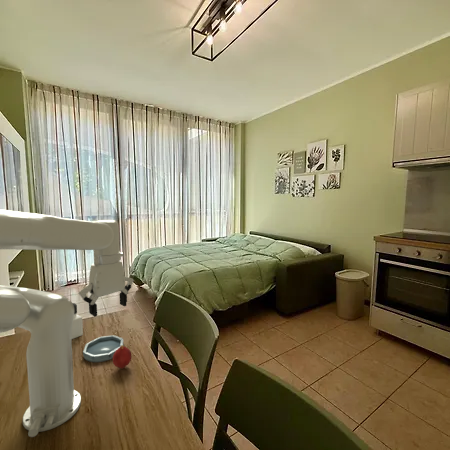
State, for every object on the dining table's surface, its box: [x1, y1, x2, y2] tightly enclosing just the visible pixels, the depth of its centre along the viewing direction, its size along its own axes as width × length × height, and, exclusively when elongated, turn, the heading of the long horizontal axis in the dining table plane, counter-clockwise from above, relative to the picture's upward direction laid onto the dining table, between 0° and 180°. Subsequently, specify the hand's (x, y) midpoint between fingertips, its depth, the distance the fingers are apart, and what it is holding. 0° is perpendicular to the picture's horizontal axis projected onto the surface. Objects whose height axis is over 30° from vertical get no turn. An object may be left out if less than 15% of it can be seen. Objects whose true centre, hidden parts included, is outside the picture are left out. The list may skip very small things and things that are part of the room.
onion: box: [112, 345, 133, 369], centre depth 84 cm, size 6×6×8 cm
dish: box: [82, 334, 125, 363], centre depth 93 cm, size 13×13×2 cm
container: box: [71, 302, 84, 340], centre depth 102 cm, size 8×8×13 cm
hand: (109, 309), depth 83 cm, fingers open, 9 cm apart
